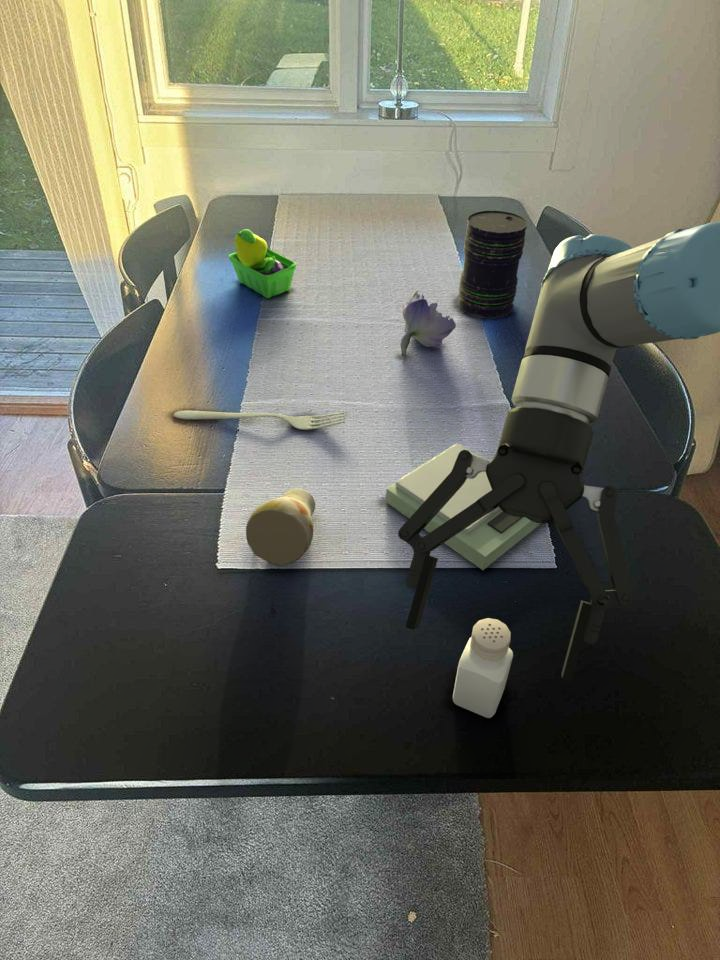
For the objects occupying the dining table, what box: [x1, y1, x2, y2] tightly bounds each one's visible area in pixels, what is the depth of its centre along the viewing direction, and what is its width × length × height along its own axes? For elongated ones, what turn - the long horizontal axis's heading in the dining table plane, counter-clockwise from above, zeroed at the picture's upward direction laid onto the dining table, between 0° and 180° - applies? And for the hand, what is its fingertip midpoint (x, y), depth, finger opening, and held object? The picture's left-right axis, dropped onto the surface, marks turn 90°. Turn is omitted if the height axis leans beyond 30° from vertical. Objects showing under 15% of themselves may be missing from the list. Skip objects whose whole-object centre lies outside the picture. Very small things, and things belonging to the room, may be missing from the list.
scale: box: [385, 443, 541, 571], centre depth 83 cm, size 15×13×3 cm
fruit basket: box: [228, 228, 298, 299], centre depth 124 cm, size 11×9×11 cm
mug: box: [245, 487, 316, 566], centre depth 77 cm, size 8×10×10 cm
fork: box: [173, 409, 349, 431], centre depth 96 cm, size 3×24×2 cm, turn 84°
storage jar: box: [457, 210, 528, 319], centre depth 119 cm, size 10×10×15 cm
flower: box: [400, 289, 457, 357], centre depth 110 cm, size 9×9×10 cm
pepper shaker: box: [452, 617, 514, 719], centre depth 61 cm, size 4×4×10 cm
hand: (486, 652), depth 60 cm, fingers open, 13 cm apart
